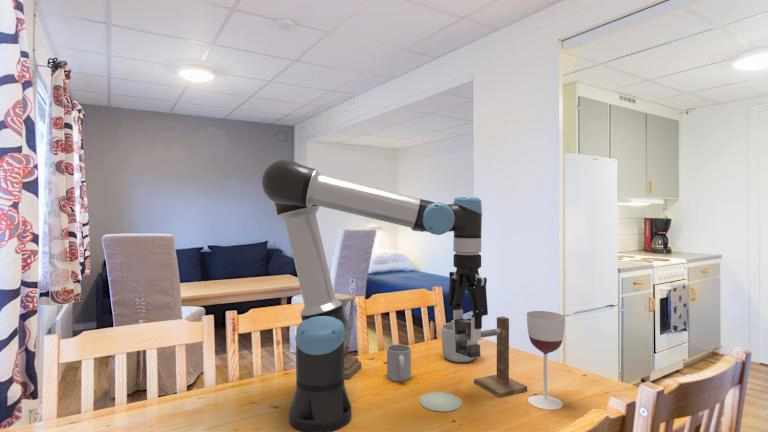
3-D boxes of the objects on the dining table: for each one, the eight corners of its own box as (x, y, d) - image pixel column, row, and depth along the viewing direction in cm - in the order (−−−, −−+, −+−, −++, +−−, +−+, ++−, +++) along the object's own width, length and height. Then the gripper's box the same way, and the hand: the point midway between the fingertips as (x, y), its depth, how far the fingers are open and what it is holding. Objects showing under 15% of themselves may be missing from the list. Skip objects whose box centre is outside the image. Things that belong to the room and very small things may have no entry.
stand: (468, 405, 113) (469, 329, 113) (444, 389, 123) (445, 319, 123) (527, 390, 122) (527, 320, 122) (500, 377, 132) (500, 312, 132)
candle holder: (315, 375, 134) (315, 297, 134) (331, 363, 144) (331, 291, 144) (348, 379, 130) (348, 300, 130) (362, 367, 141) (361, 293, 141)
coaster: (434, 415, 107) (434, 414, 107) (412, 398, 117) (412, 396, 117) (470, 406, 112) (470, 405, 112) (446, 391, 122) (446, 389, 122)
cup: (408, 372, 136) (408, 344, 136) (414, 385, 127) (414, 354, 126) (385, 373, 135) (385, 345, 135) (390, 386, 126) (390, 355, 125)
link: (471, 357, 115) (469, 323, 116) (455, 352, 122) (454, 319, 122) (480, 356, 117) (478, 322, 117) (464, 350, 123) (463, 318, 124)
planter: (483, 356, 151) (483, 325, 151) (470, 367, 141) (470, 333, 141) (449, 350, 158) (450, 320, 158) (435, 360, 147) (435, 328, 147)
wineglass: (541, 412, 109) (542, 321, 109) (519, 396, 119) (519, 312, 118) (572, 408, 112) (573, 318, 111) (548, 392, 121) (548, 310, 121)
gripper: (503, 256, 112) (502, 344, 112) (456, 249, 130) (456, 326, 130) (480, 257, 109) (479, 348, 109) (435, 250, 127) (434, 329, 127)
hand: (466, 336), depth 120 cm, fingers closed on link, 7 cm apart
